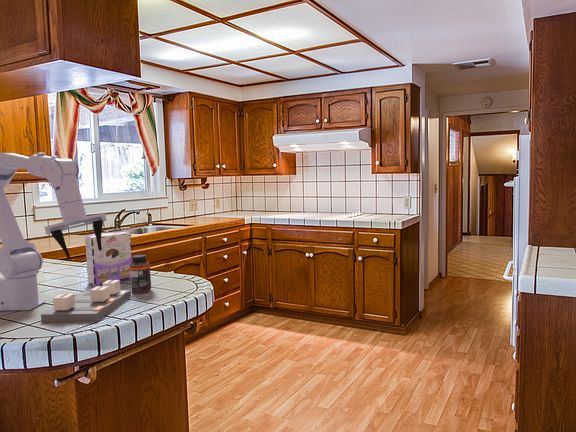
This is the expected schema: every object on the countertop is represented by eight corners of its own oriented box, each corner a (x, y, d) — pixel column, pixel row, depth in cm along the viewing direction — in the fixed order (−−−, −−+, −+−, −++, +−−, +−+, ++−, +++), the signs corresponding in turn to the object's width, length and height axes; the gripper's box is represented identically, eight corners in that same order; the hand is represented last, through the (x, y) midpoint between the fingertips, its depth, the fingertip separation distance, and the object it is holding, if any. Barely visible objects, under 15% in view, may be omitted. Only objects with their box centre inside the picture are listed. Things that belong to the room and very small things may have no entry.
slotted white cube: (53, 310, 116) (52, 297, 116) (62, 305, 120) (61, 293, 120) (67, 310, 116) (66, 297, 116) (75, 305, 120) (74, 293, 120)
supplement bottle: (144, 288, 147) (142, 253, 146) (155, 290, 143) (153, 255, 142) (127, 292, 142) (125, 256, 141) (138, 295, 138) (136, 258, 137)
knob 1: (90, 301, 123) (89, 289, 123) (97, 297, 127) (96, 286, 127) (103, 301, 123) (102, 289, 123) (109, 297, 127) (109, 285, 127)
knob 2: (102, 294, 131) (102, 283, 130) (108, 290, 135) (108, 279, 134) (114, 294, 131) (114, 282, 130) (120, 290, 135) (119, 279, 134)
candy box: (126, 276, 165) (123, 231, 163) (133, 278, 161) (131, 232, 159) (87, 283, 155) (84, 235, 154) (94, 286, 151) (91, 236, 150)
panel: (41, 322, 114) (40, 313, 114) (85, 297, 137) (84, 289, 137) (96, 321, 114) (95, 312, 114) (131, 296, 137) (130, 289, 136)
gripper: (38, 208, 111) (53, 261, 111) (100, 194, 118) (115, 245, 118) (40, 212, 118) (54, 262, 118) (99, 199, 124) (113, 247, 124)
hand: (84, 254), depth 118 cm, fingers open, 7 cm apart
